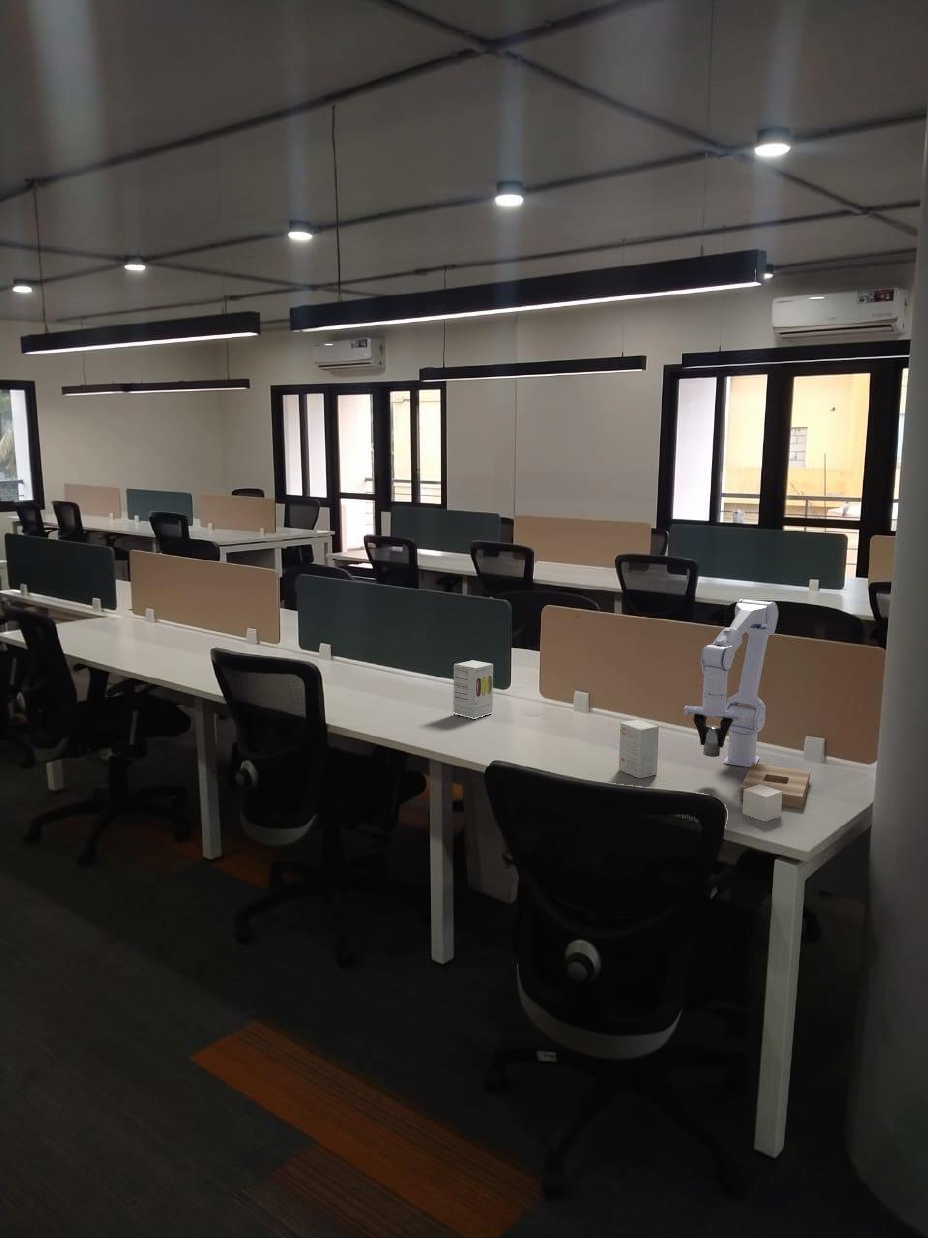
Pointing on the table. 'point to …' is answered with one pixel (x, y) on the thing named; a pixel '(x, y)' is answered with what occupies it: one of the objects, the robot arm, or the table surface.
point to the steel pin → (711, 741)
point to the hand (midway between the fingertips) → (712, 745)
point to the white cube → (762, 802)
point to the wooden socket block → (779, 782)
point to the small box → (638, 748)
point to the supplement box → (473, 688)
